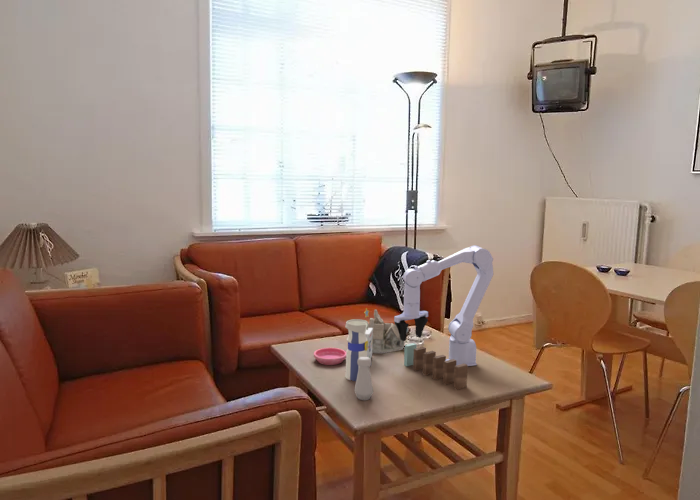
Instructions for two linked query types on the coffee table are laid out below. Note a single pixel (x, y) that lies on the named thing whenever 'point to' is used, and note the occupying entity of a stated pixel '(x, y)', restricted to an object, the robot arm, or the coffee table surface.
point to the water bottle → (356, 345)
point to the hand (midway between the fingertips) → (410, 338)
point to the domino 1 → (409, 354)
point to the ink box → (369, 341)
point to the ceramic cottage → (384, 335)
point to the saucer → (330, 356)
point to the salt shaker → (363, 379)
